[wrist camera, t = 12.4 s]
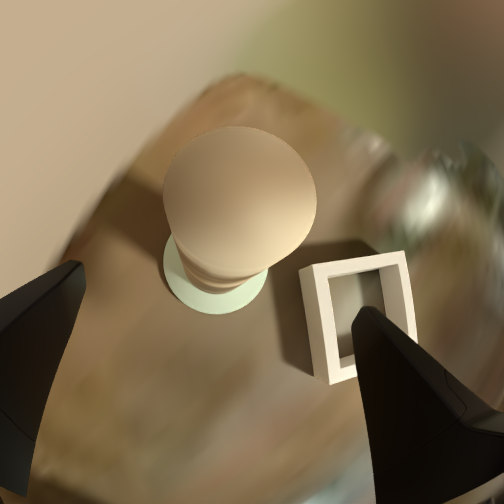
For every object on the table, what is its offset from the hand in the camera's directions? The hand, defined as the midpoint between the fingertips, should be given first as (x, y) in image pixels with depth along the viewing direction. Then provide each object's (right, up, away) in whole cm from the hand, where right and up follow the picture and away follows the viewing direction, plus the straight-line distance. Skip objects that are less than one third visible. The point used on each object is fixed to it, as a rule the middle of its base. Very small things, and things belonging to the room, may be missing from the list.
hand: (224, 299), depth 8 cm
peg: (-2, +1, +13) cm, 13 cm away
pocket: (+10, -4, +15) cm, 18 cm away
